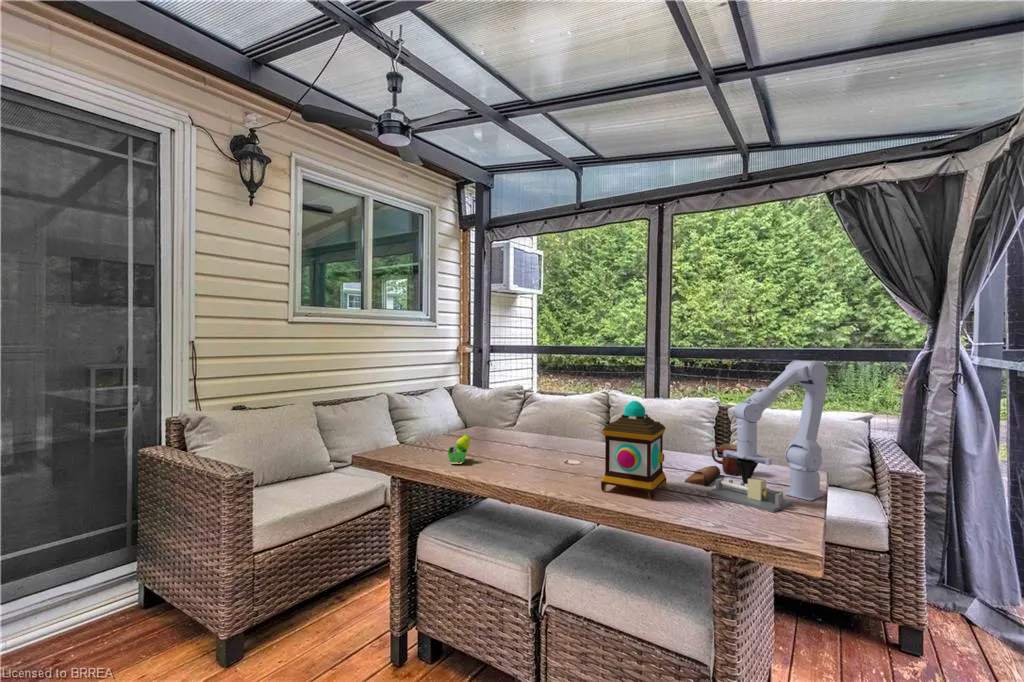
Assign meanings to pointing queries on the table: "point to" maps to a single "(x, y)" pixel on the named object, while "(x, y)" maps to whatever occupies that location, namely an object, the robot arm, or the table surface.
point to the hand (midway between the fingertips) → (746, 483)
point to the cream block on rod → (756, 488)
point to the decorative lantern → (634, 451)
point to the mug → (727, 460)
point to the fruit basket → (459, 450)
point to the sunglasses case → (703, 476)
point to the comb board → (740, 495)
